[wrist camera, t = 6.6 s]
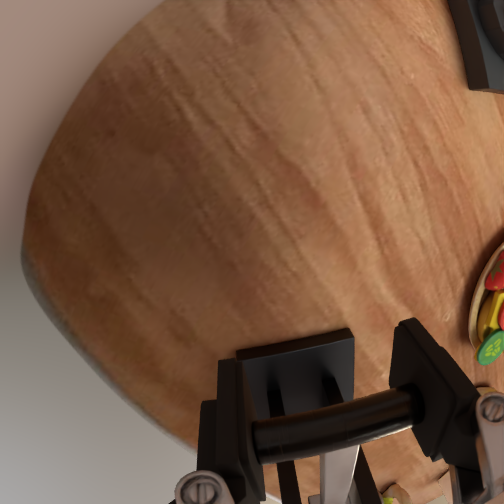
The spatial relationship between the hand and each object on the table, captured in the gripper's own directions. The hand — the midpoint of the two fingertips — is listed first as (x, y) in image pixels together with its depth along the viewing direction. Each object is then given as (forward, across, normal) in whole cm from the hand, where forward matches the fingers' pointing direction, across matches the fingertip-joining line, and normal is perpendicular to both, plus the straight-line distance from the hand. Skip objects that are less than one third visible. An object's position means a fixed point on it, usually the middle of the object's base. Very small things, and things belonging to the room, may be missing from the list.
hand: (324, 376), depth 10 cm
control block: (+10, -19, -15) cm, 26 cm away
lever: (0, 0, +6) cm, 6 cm away
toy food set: (+10, -21, +7) cm, 24 cm away
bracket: (+10, 0, +11) cm, 15 cm away
